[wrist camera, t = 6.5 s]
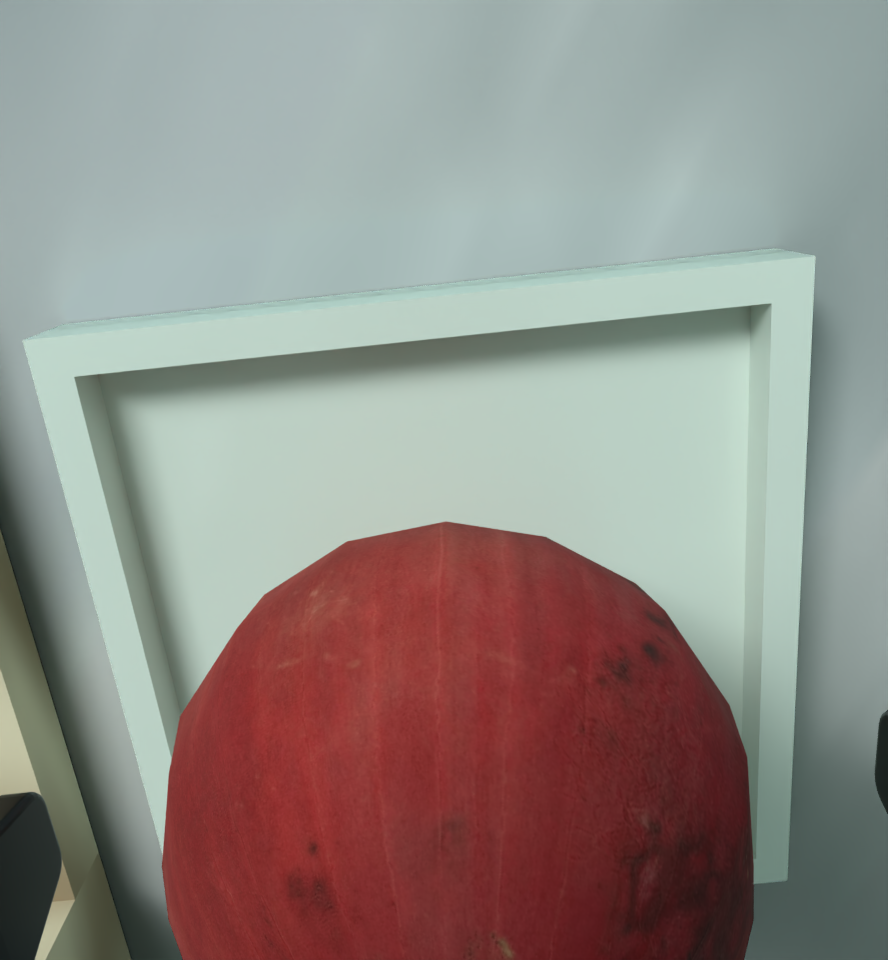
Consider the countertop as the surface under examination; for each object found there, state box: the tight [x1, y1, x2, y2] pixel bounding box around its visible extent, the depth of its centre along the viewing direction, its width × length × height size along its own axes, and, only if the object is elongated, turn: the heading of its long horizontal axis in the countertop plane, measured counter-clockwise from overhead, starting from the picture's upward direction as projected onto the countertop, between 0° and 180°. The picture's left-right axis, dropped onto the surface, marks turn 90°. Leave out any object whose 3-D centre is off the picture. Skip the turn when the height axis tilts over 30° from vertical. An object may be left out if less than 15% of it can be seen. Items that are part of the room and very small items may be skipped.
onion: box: [162, 521, 754, 960], centre depth 9 cm, size 6×6×8 cm
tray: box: [23, 248, 815, 884], centre depth 12 cm, size 10×10×1 cm
